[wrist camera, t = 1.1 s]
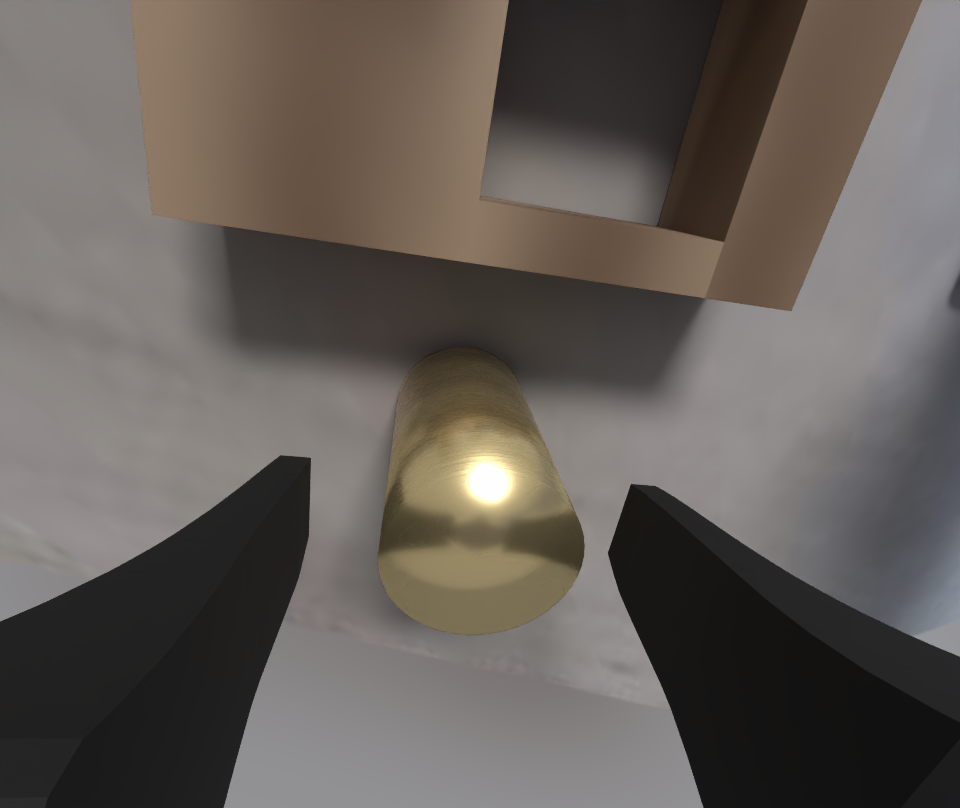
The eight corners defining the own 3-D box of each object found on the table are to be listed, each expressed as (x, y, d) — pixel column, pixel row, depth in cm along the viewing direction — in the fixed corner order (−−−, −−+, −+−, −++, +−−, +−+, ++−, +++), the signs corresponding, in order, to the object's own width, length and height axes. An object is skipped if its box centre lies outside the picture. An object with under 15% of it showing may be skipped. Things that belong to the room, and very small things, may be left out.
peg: (533, 355, 15) (608, 481, 9) (509, 465, 17) (559, 637, 11) (403, 339, 15) (386, 463, 8) (392, 455, 16) (370, 631, 10)
